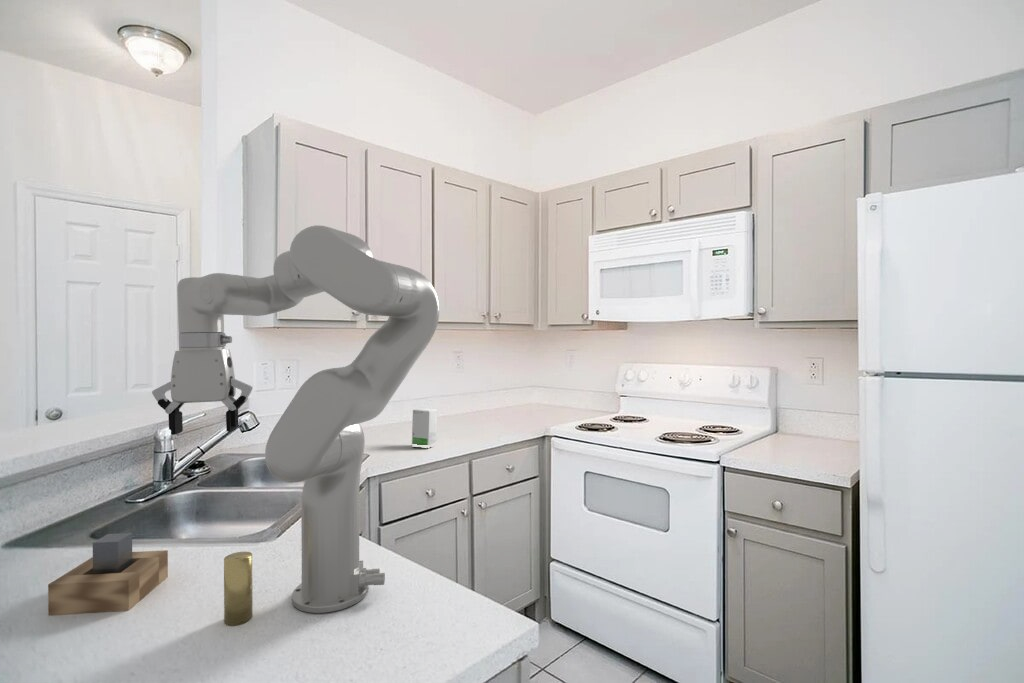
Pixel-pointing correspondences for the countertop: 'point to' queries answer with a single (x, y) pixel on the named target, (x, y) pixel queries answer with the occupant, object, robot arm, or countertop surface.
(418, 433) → the skincare box
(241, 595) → the round bit
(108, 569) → the square bit
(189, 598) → the countertop surface
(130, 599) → the bore block
